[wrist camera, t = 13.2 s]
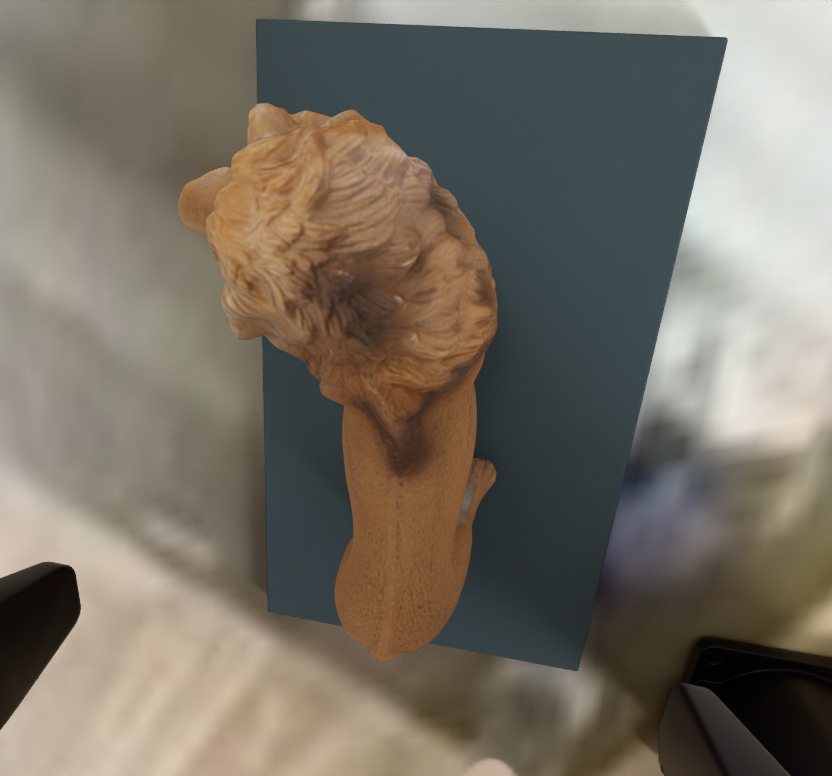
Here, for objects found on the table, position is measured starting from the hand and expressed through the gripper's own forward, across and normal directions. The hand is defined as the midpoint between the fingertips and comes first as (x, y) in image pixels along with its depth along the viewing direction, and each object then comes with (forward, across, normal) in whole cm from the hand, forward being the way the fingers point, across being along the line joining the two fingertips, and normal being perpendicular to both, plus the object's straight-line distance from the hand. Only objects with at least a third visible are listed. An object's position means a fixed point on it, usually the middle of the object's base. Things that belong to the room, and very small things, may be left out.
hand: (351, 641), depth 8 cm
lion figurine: (+10, +1, -1) cm, 10 cm away
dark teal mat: (+10, 0, 0) cm, 10 cm away
